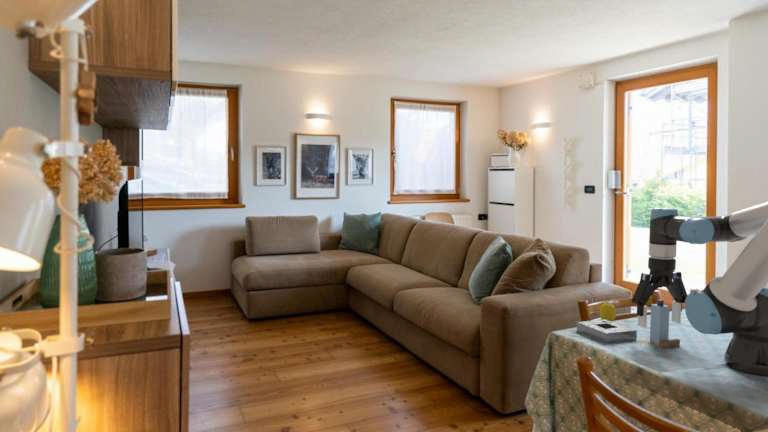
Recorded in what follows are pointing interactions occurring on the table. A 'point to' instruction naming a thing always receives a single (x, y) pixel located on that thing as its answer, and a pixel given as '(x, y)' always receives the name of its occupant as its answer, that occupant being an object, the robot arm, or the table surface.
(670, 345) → the holster
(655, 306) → the grey square bottle
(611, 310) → the lemon
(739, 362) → the robot arm
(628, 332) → the panel
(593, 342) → the table surface
